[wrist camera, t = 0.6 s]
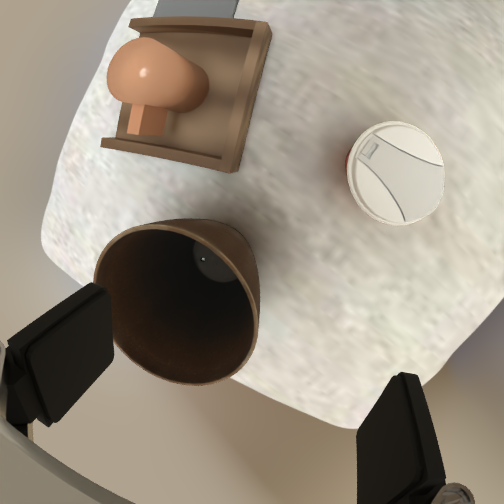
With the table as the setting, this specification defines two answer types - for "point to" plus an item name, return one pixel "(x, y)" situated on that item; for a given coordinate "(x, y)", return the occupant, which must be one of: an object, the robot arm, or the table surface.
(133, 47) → the tan tapered cylinder
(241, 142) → the brown tray
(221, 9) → the coaster
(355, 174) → the paper cup
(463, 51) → the table surface
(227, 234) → the plant pot
